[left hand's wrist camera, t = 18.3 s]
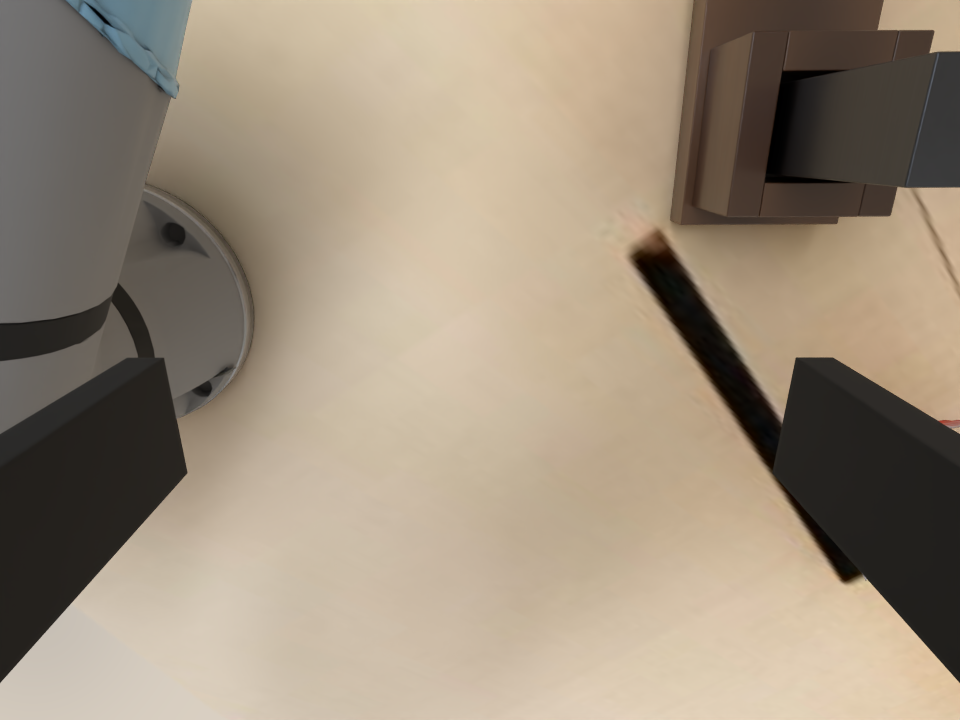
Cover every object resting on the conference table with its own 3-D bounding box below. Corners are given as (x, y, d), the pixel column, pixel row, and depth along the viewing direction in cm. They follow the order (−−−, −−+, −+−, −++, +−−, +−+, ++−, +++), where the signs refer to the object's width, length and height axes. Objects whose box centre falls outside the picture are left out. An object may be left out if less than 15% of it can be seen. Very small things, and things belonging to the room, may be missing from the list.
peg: (731, 170, 32) (905, 187, 19) (742, 91, 31) (938, 51, 18) (803, 169, 32) (1026, 187, 19) (817, 90, 31) (1069, 50, 18)
